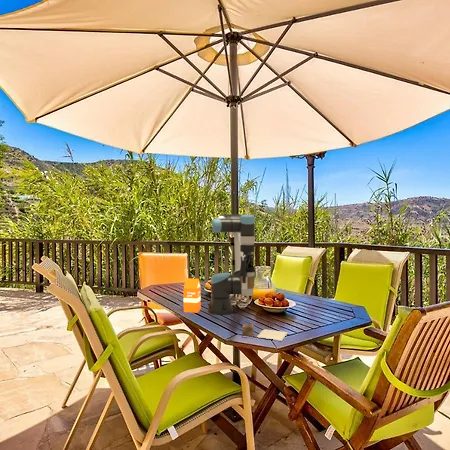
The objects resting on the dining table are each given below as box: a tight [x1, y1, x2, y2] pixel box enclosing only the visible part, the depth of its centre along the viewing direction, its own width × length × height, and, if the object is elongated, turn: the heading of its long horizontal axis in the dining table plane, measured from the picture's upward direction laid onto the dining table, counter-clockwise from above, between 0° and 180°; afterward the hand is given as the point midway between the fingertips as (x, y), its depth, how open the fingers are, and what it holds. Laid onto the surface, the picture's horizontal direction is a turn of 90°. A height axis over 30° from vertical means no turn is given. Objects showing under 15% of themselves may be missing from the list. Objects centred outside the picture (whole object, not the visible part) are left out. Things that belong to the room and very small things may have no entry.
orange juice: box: [183, 277, 202, 314], centre depth 205 cm, size 8×9×20 cm
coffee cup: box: [240, 265, 256, 297], centre depth 174 cm, size 8×8×15 cm
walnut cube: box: [242, 323, 255, 338], centre depth 160 cm, size 5×5×5 cm
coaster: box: [256, 329, 288, 342], centre depth 159 cm, size 12×12×1 cm
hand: (247, 287), depth 174 cm, fingers closed on coffee cup, 8 cm apart
